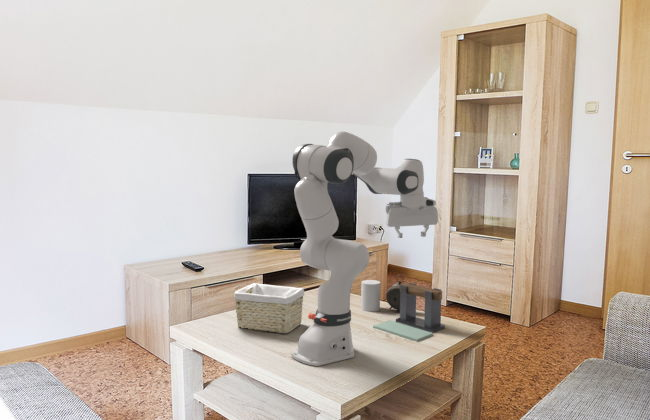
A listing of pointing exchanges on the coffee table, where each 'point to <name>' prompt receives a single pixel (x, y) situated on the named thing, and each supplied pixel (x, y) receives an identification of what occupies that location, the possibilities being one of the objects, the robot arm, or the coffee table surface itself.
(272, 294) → the storage basket
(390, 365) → the coffee table surface
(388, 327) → the mat
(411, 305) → the hook stand
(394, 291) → the alarm clock
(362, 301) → the white cylinder
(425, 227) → the robot arm
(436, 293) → the rail
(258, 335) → the coffee table surface
